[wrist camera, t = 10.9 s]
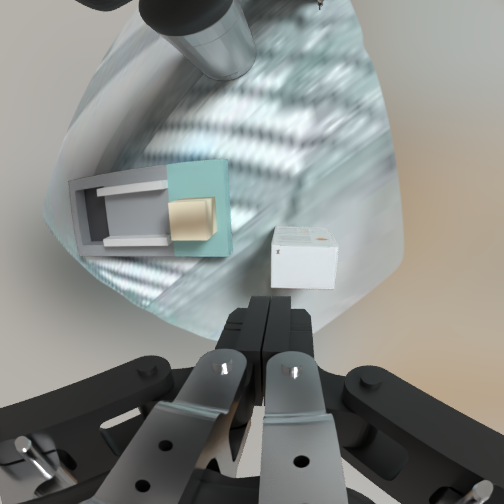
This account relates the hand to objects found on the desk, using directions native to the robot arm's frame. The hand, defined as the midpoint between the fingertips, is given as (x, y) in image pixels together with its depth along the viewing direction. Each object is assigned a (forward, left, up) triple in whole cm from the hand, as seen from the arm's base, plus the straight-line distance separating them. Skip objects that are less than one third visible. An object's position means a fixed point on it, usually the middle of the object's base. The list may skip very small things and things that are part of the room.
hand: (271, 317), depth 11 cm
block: (+1, -12, -29) cm, 32 cm away
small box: (+6, +2, -32) cm, 33 cm away
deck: (0, -23, -32) cm, 39 cm away
